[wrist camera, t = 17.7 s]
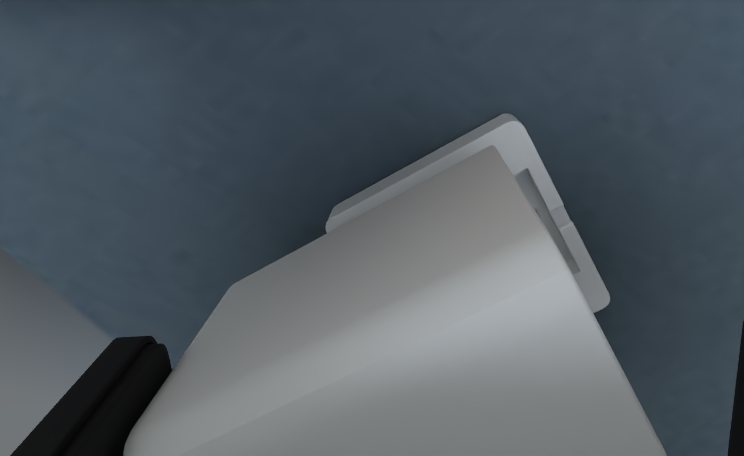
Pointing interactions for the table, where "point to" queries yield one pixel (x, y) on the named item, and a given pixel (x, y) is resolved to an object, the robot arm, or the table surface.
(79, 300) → the table surface
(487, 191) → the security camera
